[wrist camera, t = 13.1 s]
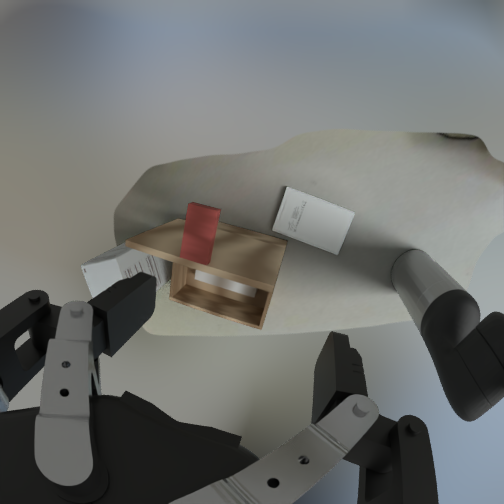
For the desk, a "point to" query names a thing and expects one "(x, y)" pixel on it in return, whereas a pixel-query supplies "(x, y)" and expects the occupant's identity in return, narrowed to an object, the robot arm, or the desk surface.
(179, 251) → the lid
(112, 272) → the supplement box
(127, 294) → the robot arm
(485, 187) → the desk surface
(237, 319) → the mailer base
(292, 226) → the external hard drive
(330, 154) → the desk surface
